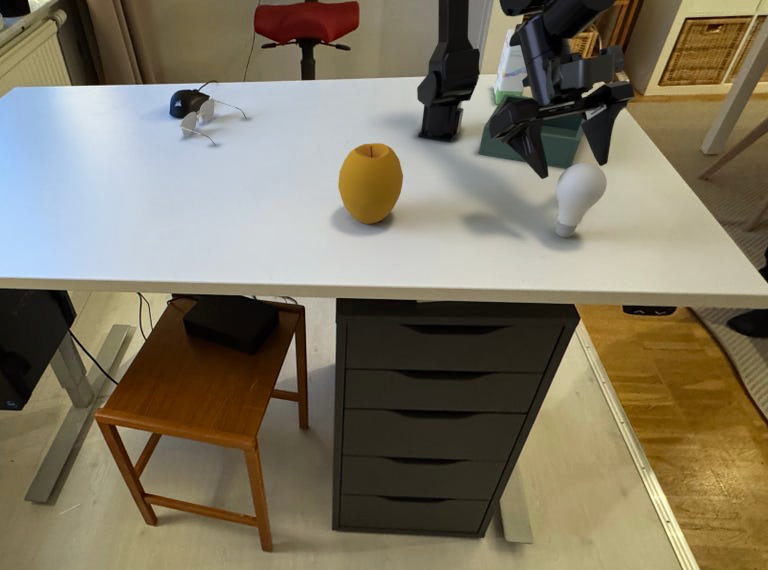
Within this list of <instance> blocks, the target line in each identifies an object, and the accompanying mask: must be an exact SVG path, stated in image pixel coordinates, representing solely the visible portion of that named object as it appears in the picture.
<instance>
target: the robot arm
mask: <svg viewBox="0 0 768 570" xmlns="http://www.w3.org/2000/svg"><path fill="white" fill-rule="evenodd" d="M498 1H499V6H500V9H501V10H502V12H503V14H504V15H505V16H506V17H513V18H514V17H520V16H526V15H530V16H529V17H528V18H527V19H526V20H525V21H524V22H522V23H517V24H516V25H515V28H514V29H515V31H514V33H513V35H512V36H511V39H510V42H509V46H510V47H513V46H518V45H520V47H521V51H522V55H523V59H524V63H525V68H526V72H527V76H526V77H525V78H524V79H523V80H522V83H523V87H524V88H528V87H529V88H530V92H531V98H530V99H525V100H520V101H515V102H510V103H508V104H507V105H506V106H505V107H504V108H502V109H501V110H500V111H499V112H498V113H497V114H495V115H494V116H493V117H492V118H491V120H490V123H489V132H490V136H491V139H492V140H495V139H500V138H502V139H501V140H500V141H501V144H505V143H506V144H508V145H509V146H510V147H511V148H512V149H513V150H514V151H515V152H516V153H518V154H519V155H520V156H521V157H522V158H523V159H524V160H525V161H526V162H525V161H524V162H525V163H526V164H527V165H528V166H529V167H530V168H531V169H532V170H533V171H534V172H535V174H536V175H537V176H538V177H539V178H540V179H541V180H544V179H547V178H548V177H549V176H550V175H549V167H548V166H549V165H547V161H546V156H545V152H544V148H543V143H542V139H541V131H542V125H543V120H547V119H552V118H557V117H562V116H567V115H572V114H577V113H579V115H580V117H581V118H583V119H584V120H585V122H584V123H582V124H581V127H582V130H583V135H584V136H585V139H586V141H587V143H588V145H589V146H588V147H589V148H590V151H591V153H592V155H593V157H594V159H595V161H596V163H597V164H598V167H604V166H605V165H607V164H608V162H609V154H610V148H611V141H612V136H613V129H614V126H615V122H616V120H617V118H618V116H619V114H620V113H621V111H623V110H624V109H626V108H627V107H628V105H629V102H631V101H632V100H634V99H635V98H636V96H635V91H634V87H633V83H632V82H630V81H628V80H626V79H623V80H617V81H614V80H615V79H614V78H615V74H619V73H621V72H623V69H624V68H625V55H624V51H623V49H622V45H621V44H615V45H610V46H607V47H603V48H600V49H599V51H598V53H597V56H592V57H587V58H584V57H583V54H582V53H581V52H580V51H576V52H573V51H572V47H571V43H570V40H571V39H574V38H577V37H578V36H580V35H581V34H582V33H583V32H584V31H585V30H586V29H588V28H589V27H590V26H591V25H592V24H593V23H595V22H596V21H597V20H598V19H599V18H600V17H601V16H602V15H603V14H604V13H606V12H607V11H608V10H609V9H610V8H611V7H613V6H614V4H615V3H616V2H617V0H498ZM437 14H438V17H437V18H438V19H437V20H438V22H437V23H438V24H437V25H438V26H437V27H438V29H437V31H438V34H437V36H438V38H437V39H438V40H437V44H436V46H435V49H434V50H433V52H432V54H431V56H430V58H429V60H428V71H427V74H426V76H425V77H424V78H423V80H422V81H421V82H420V84H419V85H418V86H417V88H416V95H417V101H418V102H419V103H421V104H422V105H423V111H422V120H421V127H420V129H421V130H419V131H418V133H417V137H418V138H423V139H428V140H429V139H430V140H435V141H441V142H448V143H449V142H452V141H453V139H454V137H456V136H457V135H458V133H459V132H460V130H461V127H462V123H463V116H464V111H465V110H464V108H463V107H462V102H469V101H471V99H472V96H473V94H474V91H475V89H476V87H477V85H478V81H479V78H480V75H481V71H480V57H481V52H480V49H479V48H474V46H473V44H472V43H471V41H470V39H469V19H470V17H469V16H470V0H438V13H437ZM531 14H532V15H531ZM604 82H605V83H604ZM599 83H603V84H601V86H599V87H597V88H596V89H595V90H593V91H592V92H590V91H591V90H592V89H594V85H595V84H599ZM589 92H590V93H589ZM585 93H589V94H588V95H586V96H583V94H585ZM567 107H571V108H567ZM565 108H567V109H565Z"/></svg>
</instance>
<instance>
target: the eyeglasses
mask: <svg viewBox="0 0 768 570" xmlns="http://www.w3.org/2000/svg"><path fill="white" fill-rule="evenodd" d="M215 102H217V103H220V104H223V105H225V106H229V107H232V108H234V109H236V110H239V111H241V112H242V114H243V117H244V118H245V119H246V120H247V119H248V118H247V117H246V115H245V112H244V111H243V109H241V108H239V107H236V106H233V105H231V104H228V103H225V102H222V101H219V100H217V99H214V98H209V99H208V100H206V101H205V102H203V103H202V104H201V106H200V108H199V110H198V111H197V112H195V111H191V112H190V113H188V114H187V115H185V116H184V118H183V119H181V122H180V125H179V128H180V129H181V131H182V134H183V137H185V138H187V137H189V136H190V135H191V134H193V133H195V134H198V135H201V136H204V137H206V138H208V139H209V140H210V141H211V143H212V144H213V146H216V143H215V142H214V141H213V140H212V138H211V137H209V136H208V135H207V134H203V133H199V132H197V131H195V130H196V128H197V124H199V121H200V118H201V120H202V122H203V123H207V122H208V121H210V120H211V119H212V118H213V116H214V115H215V114H214V113H215ZM198 114H200V117H199V116H198Z"/></svg>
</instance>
